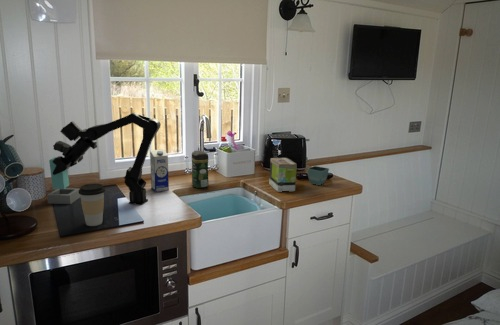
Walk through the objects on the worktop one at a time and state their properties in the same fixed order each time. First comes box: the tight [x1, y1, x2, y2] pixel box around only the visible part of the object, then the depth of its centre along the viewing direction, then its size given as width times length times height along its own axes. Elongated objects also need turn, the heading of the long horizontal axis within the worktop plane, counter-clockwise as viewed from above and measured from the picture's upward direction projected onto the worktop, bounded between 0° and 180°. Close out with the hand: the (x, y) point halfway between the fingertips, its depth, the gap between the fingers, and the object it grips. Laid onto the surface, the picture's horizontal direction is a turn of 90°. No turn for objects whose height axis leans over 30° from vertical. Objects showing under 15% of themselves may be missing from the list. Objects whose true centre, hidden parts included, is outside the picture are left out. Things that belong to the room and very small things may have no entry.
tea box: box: [268, 157, 298, 193], centre depth 196 cm, size 15×10×15 cm
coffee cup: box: [79, 183, 106, 227], centre depth 144 cm, size 9×9×15 cm
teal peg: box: [48, 156, 70, 190], centre depth 165 cm, size 5×5×13 cm
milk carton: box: [149, 148, 170, 193], centre depth 186 cm, size 7×7×20 cm
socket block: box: [46, 187, 81, 205], centre depth 169 cm, size 10×10×4 cm
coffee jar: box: [191, 149, 209, 189], centre depth 194 cm, size 10×8×19 cm
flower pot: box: [307, 165, 330, 186], centre depth 204 cm, size 9×9×9 cm
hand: (56, 172), depth 165 cm, fingers closed on teal peg, 5 cm apart
